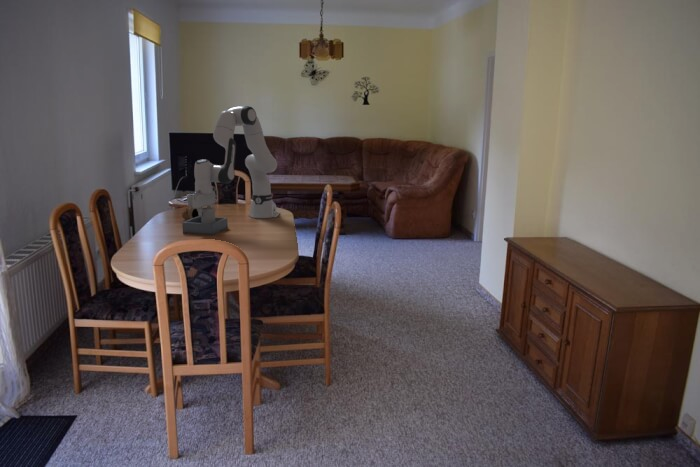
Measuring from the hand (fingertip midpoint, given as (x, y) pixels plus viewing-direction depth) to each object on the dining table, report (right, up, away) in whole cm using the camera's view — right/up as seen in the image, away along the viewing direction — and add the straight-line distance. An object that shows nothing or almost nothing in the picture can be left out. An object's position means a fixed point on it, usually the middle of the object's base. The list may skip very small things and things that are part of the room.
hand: (204, 214), depth 310 cm
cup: (-19, +2, +51) cm, 54 cm away
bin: (0, -9, +2) cm, 9 cm away
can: (+2, -9, +1) cm, 9 cm away
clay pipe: (-14, -3, +28) cm, 31 cm away
